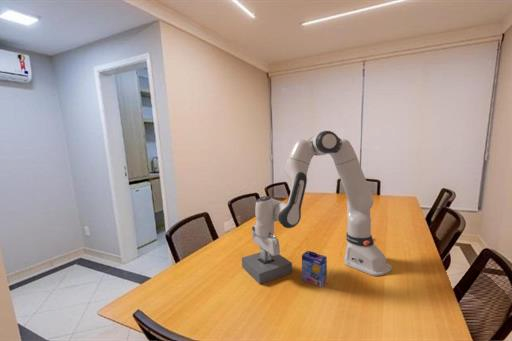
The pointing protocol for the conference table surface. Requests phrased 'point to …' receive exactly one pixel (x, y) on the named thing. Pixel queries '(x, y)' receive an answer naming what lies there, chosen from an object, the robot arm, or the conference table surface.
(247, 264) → the socket block
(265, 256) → the peg
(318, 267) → the ink cartridge box
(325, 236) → the conference table surface
